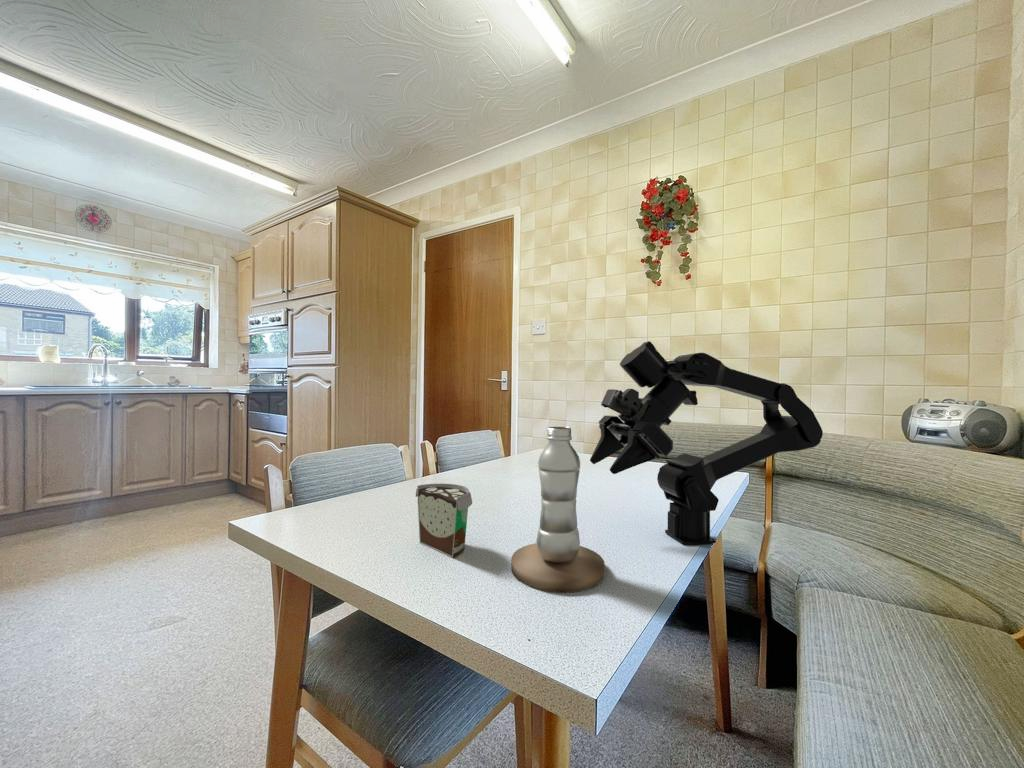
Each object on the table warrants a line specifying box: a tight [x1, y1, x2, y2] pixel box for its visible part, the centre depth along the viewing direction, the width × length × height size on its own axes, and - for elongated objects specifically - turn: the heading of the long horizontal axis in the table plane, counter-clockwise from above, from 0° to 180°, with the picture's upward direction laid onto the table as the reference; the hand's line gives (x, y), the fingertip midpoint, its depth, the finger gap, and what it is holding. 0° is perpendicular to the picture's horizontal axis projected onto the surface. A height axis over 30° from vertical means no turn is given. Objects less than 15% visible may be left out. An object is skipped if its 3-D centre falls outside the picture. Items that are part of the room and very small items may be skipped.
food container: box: [415, 482, 473, 559], centre depth 70 cm, size 12×6×10 cm, turn 47°
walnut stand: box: [510, 542, 606, 593], centre depth 61 cm, size 14×14×2 cm
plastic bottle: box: [536, 426, 581, 563], centre depth 61 cm, size 6×7×20 cm
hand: (600, 467), depth 72 cm, fingers open, 9 cm apart
